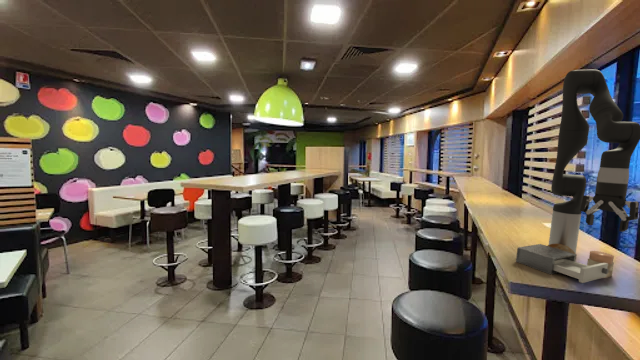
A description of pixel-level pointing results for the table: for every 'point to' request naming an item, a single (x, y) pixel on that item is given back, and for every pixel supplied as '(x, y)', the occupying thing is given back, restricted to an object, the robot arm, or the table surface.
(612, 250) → the table surface
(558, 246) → the bread roll
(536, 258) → the player housing
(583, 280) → the tray
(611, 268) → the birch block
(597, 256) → the coaster
